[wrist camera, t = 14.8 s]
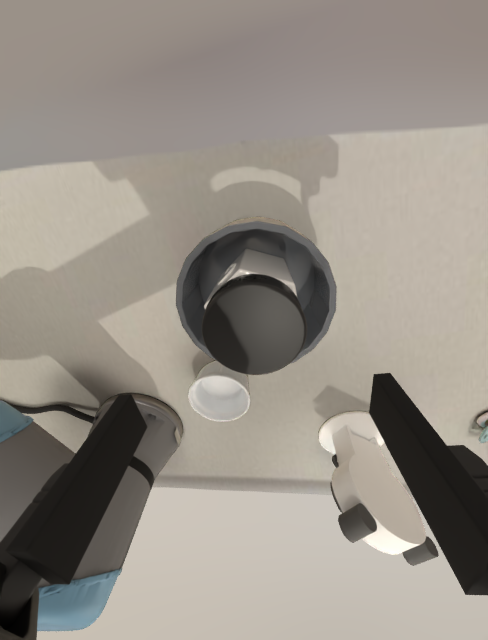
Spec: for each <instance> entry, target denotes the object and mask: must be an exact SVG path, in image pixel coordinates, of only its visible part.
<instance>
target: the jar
mask: <svg viewBox="0 0 488 640" xmlns="http://www.w3.org/2000/svg"><path fill="white" fill-rule="evenodd" d="M204 308H205V313H204V316H203V320H202V336H203V340H204V343H205V345H206V347H207V349H208V351H209V352H210V354H211V355H212V356H213V357H214V358H215V359H216V360H217V361H218V362H219V363H221V364H222V365H223V366H225V367H227V368H229V369H231V370H233V371H236V372H239V373H243V374H249V375H261V374H268V373H272V372H275V371H277V370H280V369H282V368H283V367H285V366H287V365H288V364H289V363H291V362H292V361H293V360H294V359H295V358H296V357H297V356H298V355H299V353H300V352H301V350H302V348H303V346H304V344H305V340H306V336H307V323H306V318H305V315H304V313H303V310H302V307H301V305H300V302H299V300H298V298H297V293H296V288H295V284H294V281H293V279H292V276H291V274H290V272H289V269H288V267H287V264H286V262H285V260H284V259H283V258H280V257H276V256H272V255H269V254H265V253H261V252H258V251H254V250H250V249H245V250H244V251H243V252H242V253H241V254H240V255H239V256H238V258H237V259H236V260H235V261H234V262H233V263H232V264H231V265H230V266H229V267H228V268H227V269H226V270H225V271H224V272H223V273H222V274H221V276H220V278H219V279H218V281H217V283H216V285H215V287H214V288H213V290H212V292H211V294H210V296H209V297H208V299H207V301H206V303H205V305H204Z"/></svg>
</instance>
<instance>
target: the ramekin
mask: <svg viewBox="0 0 488 640" xmlns="http://www.w3.org/2000/svg"><path fill="white" fill-rule="evenodd" d="M188 399H189V402H190V404H191V406H192V408H193V409H194V410H195V411H196V412H197V413H198V414H199V415H201V416H203V417H205V418H207V419H209V420H212V421H218V422H227V421H233V420H235V419H238V418H240V417H241V416H243V415H244V414H245V413H246V412H247V410H248V408H249V406H250V394H249V383H248V378H247V375H246V374H243V373H239V372H236V371H233V370H231V369H229V368H227V367H225V366H223V365H222V364H221V363H219V362H218V361H214V362H211V363H208V364H207V365H205V366H204V367H203V368H202V369H201V370H200V372H199V374H198V375H197V377H196V379H195V381H194V382H193V383H192V385H191V386H190V388H189V392H188Z"/></svg>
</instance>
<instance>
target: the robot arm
mask: <svg viewBox="0 0 488 640" xmlns="http://www.w3.org/2000/svg"><path fill="white" fill-rule="evenodd" d="M47 411H64V412H67V413H69V414H71V415H73V416H75V417H77V418H80V419H83V420H85V421H88V422H91V423H93V426H92V428H91V430H90V432H89V435H88V438H87V439H86V441H85V442H84V443H83V445H82V446H81V448H80V449H79V450H78V452H77V453H76V454H75V453H74V452H73V451H71V450H70V449H69V448H67V447H66V446H65V445H63V444H62V443H61V442H60V441H58V440H57V439H56V438H54V437H53V436H52V435H51V434H49V433H48V432H47V431H45V430H44V429H43V428H41V427H40V426H39V425H38V424H36V423H35V422H34V421H33V420H34V419H32V418H31V417H30V416H25V415H24V414H22V413H27V414H36V413H42V412H47ZM369 414H370V416H371V418H372V419H373V421H374V423H375V425H376V427H377V429H378V431H379V433H380V435H381V436H382V438H383V440H384V442H385V444H386V446H387V448H388V450H389V451H390V453H391V455H392V457H393V459H394V461H395V463H396V465H397V466H398V468H399V470H400V472H401V474H402V476H403V478H404V480H405V482H406V483H407V485H408V487H409V489H410V491H411V493H412V495H413V497H414V498H415V500H416V502H417V504H418V506H419V508H420V510H421V512H422V514H423V515H424V517H425V519H426V521H427V523H428V525H429V526H430V529H431V530H432V532H433V534H434V536H435V538H436V540H437V542H438V543H439V545H440V547H441V549H442V551H443V553H444V555H445V557H446V559H447V560H448V562H449V564H450V566H451V568H452V570H453V572H454V574H455V576H456V577H457V579H458V581H459V583H460V585H461V587H462V589H463V591H464V592H465V594H466V595H488V466H487V464H486V463H485V462H484V461H483V460H482V459H481V458H480V457H479V456H477V455H476V454H475V453H473V452H472V451H470V450H469V449H468V448H466V447H465V446H464V445H456V446H447V445H446V444H445V443H444V441H443V440H442V439H441V438H440V436H439V435H438V434H437V433H436V431H435V430H434V429H433V427H432V426H431V425H430V424H429V422H428V421H427V420H426V418H425V417H424V416H423V415H422V413H421V412H420V411H419V409H418V408H417V407H416V406H415V404H414V403H413V402H412V401H411V399H410V398H409V397H408V395H407V394H406V393H405V392H404V390H403V389H402V388H401V386H400V385H399V384H398V383H397V381H396V380H395V379H394V378H393V376H392V375H391V374H390V373H385V374H374V377H373V386H372V394H371V402H370V411H369ZM182 434H183V426H182V423H181V421H180V419H179V417H178V416H177V414H176V413H175V412H174V411H173V410H172V409H171V408H170V407H168V406H167V405H166V404H164V403H162V402H161V401H159V400H157V399H154V398H152V397H149V396H145V395H141V394H131V393H129V394H120V395H116V396H113V397H111V398H109V399H108V400H107V401H106V402H105V403H104V404H103V405H102V406H101V408H100V409H99V410H98V412H97V413H96V415H95V417H93V416H90V415H87V414H85V413H82V412H80V411H78V410H75V409H73V408H71V407H69V406H65V405H51V406H46V407H41V408H26V407H20V406H16V405H12V404H8V403H6V402H4V401H2V400H0V640H36V637H37V631H73V630H80V629H84V628H86V627H88V626H90V625H91V624H92V623H93V622H94V621H95V620H96V619H97V618H98V617H99V616H100V614H101V613H102V611H103V609H104V607H105V605H106V603H107V600H108V598H109V596H110V593H111V591H112V589H113V586H114V584H115V582H116V579H117V577H118V575H120V573H121V571H122V566H123V563H124V561H125V558H126V555H127V553H128V550H129V547H130V544H131V542H132V539H133V536H134V534H135V531H136V528H137V526H138V523H139V520H140V518H141V515H142V512H143V509H144V507H145V504H146V501H147V498H148V496H149V493H150V490H151V488H152V485H153V483H154V480H155V478H156V476H157V475H158V474H159V472H160V471H161V469H162V468H163V467H164V465H165V464H166V463H167V461H168V460H169V458H170V457H171V455H172V454H173V453H174V452H175V451H176V449H177V448H178V446H179V444H180V441H181V437H182Z"/></svg>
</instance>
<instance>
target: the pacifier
mask: <svg viewBox="0 0 488 640" xmlns="http://www.w3.org/2000/svg"><path fill="white" fill-rule="evenodd" d="M477 424H478V425H479V426H481V427H483V428H484V430H483V432H482V433H481V435H480V438H479V441H480V443H484V442H486V441H488V412H487V413H485V414H483V415H481V416H480V417H479V418H478V419H477Z"/></svg>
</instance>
